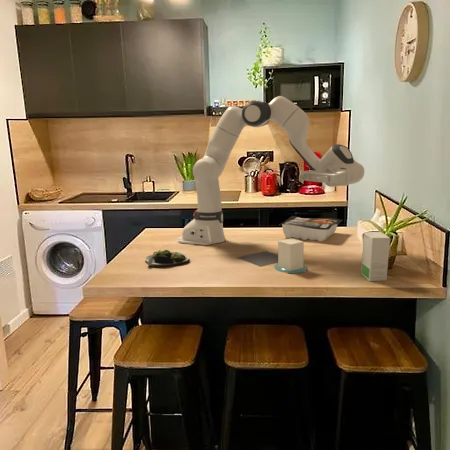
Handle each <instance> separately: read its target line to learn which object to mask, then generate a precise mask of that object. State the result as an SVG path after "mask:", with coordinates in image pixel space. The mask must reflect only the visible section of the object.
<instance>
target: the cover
mask: <svg viewBox="0 0 450 450" xmlns="http://www.w3.org/2000/svg"><path fill="white" fill-rule="evenodd" d="M277 243H278V244H277V245H278V246H277V247H278V249H277V253H278V263H277V264H278V267H280V268H283V269H286V270H289V271H292V270H296V269H300V268H303V265H304V250H305V248H304V245H305V243H304V241H302V240H299V239H295V238H293V237H292V238H286V239H282V240H278V241H277Z"/></svg>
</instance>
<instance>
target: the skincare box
mask: <svg viewBox="0 0 450 450" xmlns="http://www.w3.org/2000/svg"><path fill="white" fill-rule="evenodd" d="M362 242H363V243H362V255H361V256H362V257H361V271H360V274H361V275H362V276H363V277H364V278H365V279H366V280H367V281H368V282H382V281H383V282H384V281H387V279H388V267H389V253H390V244H391V237H390V236H388V235H387V234H385V233H383V232H382V231H365V232H363V240H362Z"/></svg>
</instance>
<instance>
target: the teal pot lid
mask: <svg viewBox="0 0 450 450" xmlns="http://www.w3.org/2000/svg"><path fill="white" fill-rule="evenodd" d="M274 269H275V270H276V271H278V272H281V273H286V274H289V275H293V274H302V273H305V272H306V271H307V269H308V267H307V265H305V264H303V268H300V269H296V270H292V271H289V270H286V269H283V268H280V267H278V263H276V264H274ZM304 271H305V272H304ZM301 272H302V273H301Z"/></svg>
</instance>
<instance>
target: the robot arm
mask: <svg viewBox="0 0 450 450" xmlns="http://www.w3.org/2000/svg"><path fill="white" fill-rule="evenodd" d="M270 121H272V122H274V123H276V124H277V125H278V126H280V128H282V129H283V130H284V131H285V132H286V134H287V135H288V136H287V137H289V143H290V145H291V147H292V148H293V150H294V151H295V152H296V153H297V154H298V155H299V157H300V158H301V159H302V160H303V161H304V162H305V164H307V166H308V167H309V168H310V169H311V170H302V171H300V175H298V179H299V180H300V181H301V180H302V181H308V182H315V183H322V184H323V183H324V184H325V185H326V187H329V188H333V187H340V186H342V187H343V186H345V187H346V186H349V185H353V184H357V183H359V182H360V181H361V180H362V179H363V178H364V176H365V168H364V166H363V165H362V164H361V163H359V162H357V161H356V160H355V159H354V156H353V153H352V151H351V150H350V149H349V147H347V146H345V145H343V144H338V143H337V144H333V145H331V147H330V148H329V149H328V150H327V151H326V152H325V154H323V156H322V157H321V158H319V157H318V156H317V155H316V153H315V152H314V151H313V150H312V148H311V147H309V145H308V141H307V139H308V138H307V136H308V133H309V130H310V118H309V115H308V114H306V112H305V111H304V110H303V109H302V108H300V107H299V106H298V105H297V104H295V103H294V102H293V101H292V100H290V99H288V98H287V97H285V96H283V95H278V96H276V97H274V98H273V99H272V100H271V101H270V102H269V103H268V102H266V101H265V102H264V101H261V100H251V101H247V103H246V104H244V106H243V108H241V107H238V106H234V105H232V106H228V107H227V108H226V110H225V111H224V112H223V114H222V115H221V117H220V119H218V122H217V124H216V125H215V128H214V129H213V132H212V134H211V136H210V138H209V140H208V144H207V147H206V150H205V153H204V155H203V157H202V158H200V159H198V160H197V161H196V162H195V163H194V165H193V167H192V175H193V178H194V184H195V185H194V186H195V188H196V195H197V209H196V210H194V212H193V219H192V220H191V221H189V222H188V223H186V225H185V226H184V227H183V230H182V235H181V236H178V238H177V242H178V243H179V244H190V245H201V246H202V245H203V246H209V245H213V244H220V243H223V242H225V241H226V235H225V232H224V226H223V222H224V214H223V210H222V192H221V186H220V181H219V180H220V179H219V178H220V176H221V175H222V173H223V172H224V170H225V168H226V165H227V163H228V160H229V158H230V156H231V155H230V154H231V153H232V151H233V150H234V149H233V148H234V147H235V145H236V143H237V141H238V139H239V137H240V135H241V132H242V131H243V129H244V128H245V127H246V126H250V127H253V128H261V127H264V126H266V125H268V123H269V122H270Z"/></svg>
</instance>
